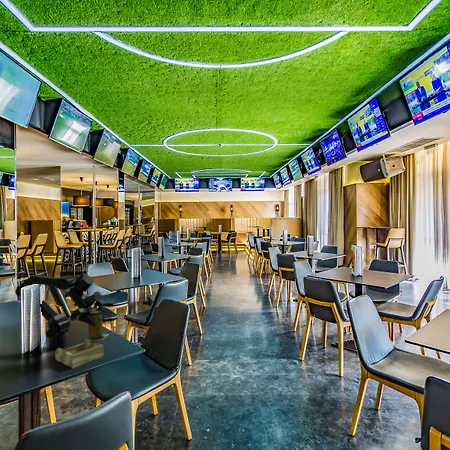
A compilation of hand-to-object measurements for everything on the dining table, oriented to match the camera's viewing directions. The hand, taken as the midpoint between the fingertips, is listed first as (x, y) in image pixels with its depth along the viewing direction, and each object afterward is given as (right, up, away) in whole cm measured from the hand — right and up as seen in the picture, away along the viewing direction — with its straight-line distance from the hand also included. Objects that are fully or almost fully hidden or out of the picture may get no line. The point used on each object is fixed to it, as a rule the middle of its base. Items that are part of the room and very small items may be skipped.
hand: (99, 323), depth 142 cm
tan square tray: (-6, -13, -6) cm, 16 cm away
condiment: (-1, -7, +1) cm, 7 cm away
